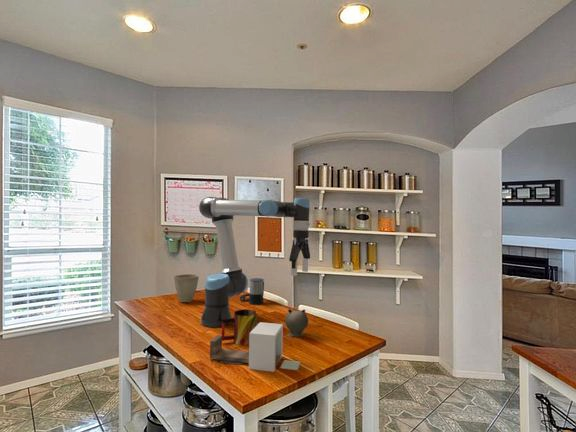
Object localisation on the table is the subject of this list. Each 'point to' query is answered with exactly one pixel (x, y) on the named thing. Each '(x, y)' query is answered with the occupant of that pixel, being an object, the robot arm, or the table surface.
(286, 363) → the pad
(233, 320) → the mug
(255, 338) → the upright grey pillar
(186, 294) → the plant pot
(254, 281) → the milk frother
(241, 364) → the pit pad
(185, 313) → the table surface
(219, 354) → the sled
